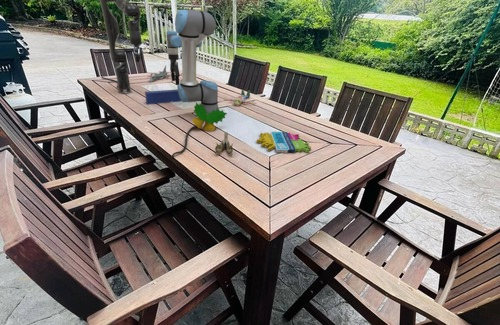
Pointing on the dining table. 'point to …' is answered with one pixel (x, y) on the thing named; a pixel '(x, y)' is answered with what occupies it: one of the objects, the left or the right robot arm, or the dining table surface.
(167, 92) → the bar
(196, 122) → the ornament
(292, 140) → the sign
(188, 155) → the dining table surface
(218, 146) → the jawbone
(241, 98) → the toy
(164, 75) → the airplane
